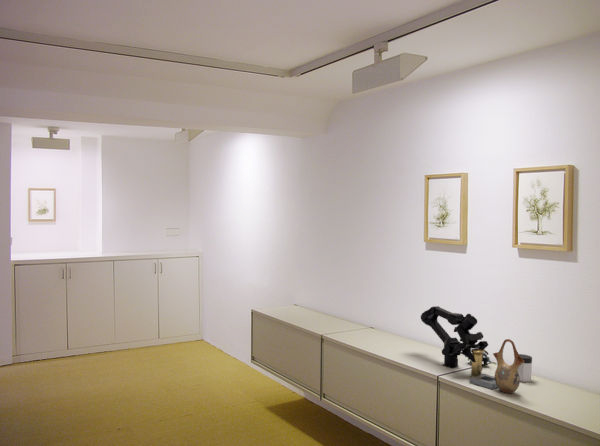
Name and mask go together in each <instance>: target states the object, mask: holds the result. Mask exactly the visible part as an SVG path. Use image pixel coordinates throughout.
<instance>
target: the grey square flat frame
mask: <svg viewBox="0 0 600 446" xmlns="http://www.w3.org/2000/svg"><path fill="white" fill-rule="evenodd" d="M470 383H471V384H472V385H475V386H479V387H483V388H487V389H489V390H495V389H497V388H498V386H497V385H496V382H495V376H493V375H489V374H486V373H481V374H480V375H477V376H471V377H469V384H470ZM498 389H499V388H498Z"/></svg>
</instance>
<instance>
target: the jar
mask: <svg viewBox="0 0 600 446" xmlns="http://www.w3.org/2000/svg"><path fill="white" fill-rule="evenodd" d="M518 354H519V355H520V357H521V358H522V359H523V360H524V363H523V364H521V365H520V366H519V368H518V373H519V376H520V382H522V383H530V382H532V368H533V367H532V366H533V357H532V356H531V355H527V354H522V353H521V354H520V353H518Z"/></svg>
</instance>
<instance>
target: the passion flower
mask: <svg viewBox="0 0 600 446" xmlns="http://www.w3.org/2000/svg"><path fill="white" fill-rule="evenodd" d="M483 351H484V353H483V359H484V361H483V362H482V364H483V366H489V364H491V363H492V361H491V359H490V356H489V357H488V355H489V352H488V351H487V350H486V348H485V349H484V350H483ZM464 356H465V355H464ZM465 358H467V357H466V356H465ZM467 361H469V363H472V361H471V360H470V359H469V358H467Z"/></svg>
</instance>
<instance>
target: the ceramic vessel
mask: <svg viewBox="0 0 600 446" xmlns="http://www.w3.org/2000/svg"><path fill="white" fill-rule="evenodd" d="M507 342H509V343H511V345H512V350H513V357H514V361H513V362H512V364H511V365H510V364H507V363H506V362H505V360H504V355H503V353H504V349H505V346H506V343H507ZM519 354H520V353H518V350H517V348H516V344H515V342H514V341H513V340H512V339H510V338H507V339H504V341H503V342H502V344H501V347H500V348H499V351H498V352H494V353H492V355H493V356H494V359H496V364H497V367H496V370H495V372H494V377H495V382H496V385H497V386H498V389H499V390H500V391H501V392H502V393H506V394H513V393H514V392H516V391H518V389H519V387H520V382H521V381H520V376H519V373H518V368H519V366H520V365H521V364H523V363H524V360H523V359H522V358H521V357H520V355H519Z"/></svg>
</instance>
